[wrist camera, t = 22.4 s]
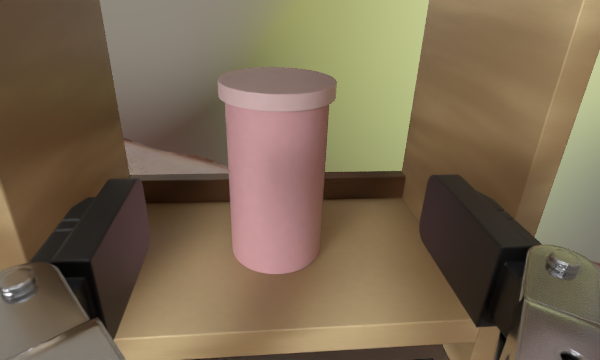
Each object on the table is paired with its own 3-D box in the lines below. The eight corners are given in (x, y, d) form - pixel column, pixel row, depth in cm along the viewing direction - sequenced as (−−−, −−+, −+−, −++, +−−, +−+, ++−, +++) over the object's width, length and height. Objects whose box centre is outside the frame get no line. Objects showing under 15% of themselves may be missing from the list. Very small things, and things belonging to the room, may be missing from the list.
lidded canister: (223, 280, 21) (211, 93, 17) (230, 221, 27) (222, 66, 22) (332, 276, 22) (347, 94, 18) (317, 219, 27) (327, 67, 23)
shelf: (51, 415, 20) (-204, -258, 9) (127, 252, 31) (53, -127, 21) (483, 384, 22) (681, -183, 11) (404, 242, 33) (465, -102, 23)
